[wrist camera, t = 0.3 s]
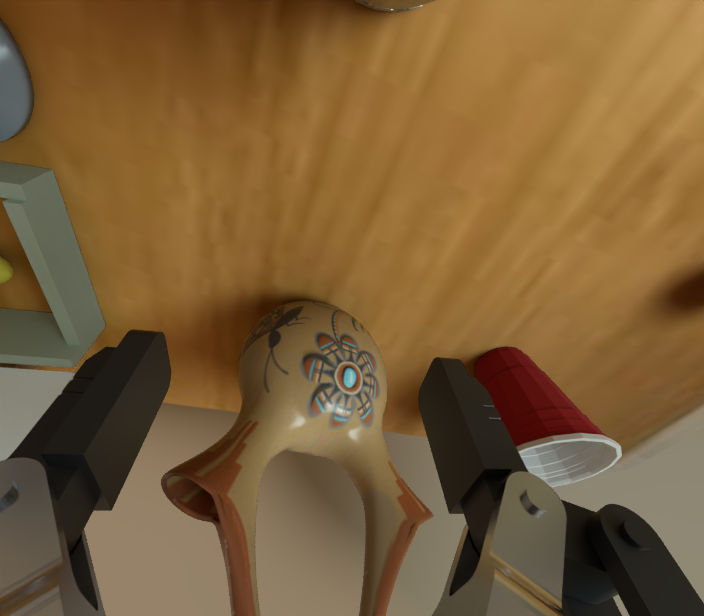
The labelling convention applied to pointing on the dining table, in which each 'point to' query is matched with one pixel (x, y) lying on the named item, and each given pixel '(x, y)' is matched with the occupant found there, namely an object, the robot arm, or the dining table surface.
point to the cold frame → (47, 275)
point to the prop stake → (17, 366)
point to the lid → (25, 402)
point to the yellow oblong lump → (5, 270)
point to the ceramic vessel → (303, 444)
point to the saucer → (13, 87)
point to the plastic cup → (543, 420)
